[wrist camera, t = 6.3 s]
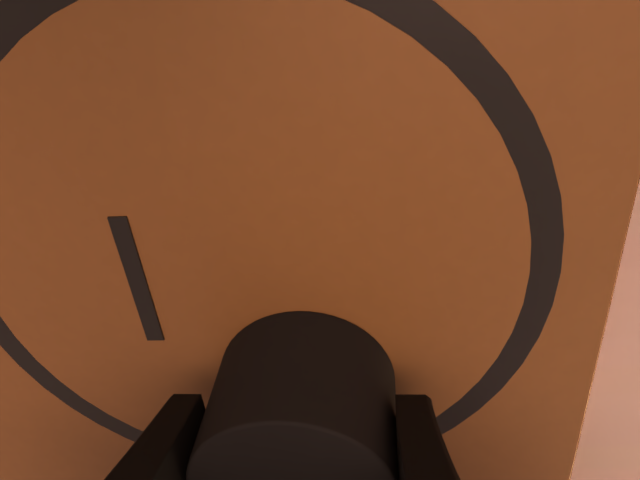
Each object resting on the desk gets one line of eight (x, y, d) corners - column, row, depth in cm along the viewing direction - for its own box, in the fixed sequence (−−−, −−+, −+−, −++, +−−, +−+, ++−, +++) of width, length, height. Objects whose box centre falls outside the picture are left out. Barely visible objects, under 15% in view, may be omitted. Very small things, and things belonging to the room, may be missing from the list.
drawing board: (556, 512, 16) (561, 531, 15) (-151, 492, 18) (-165, 508, 18) (719, -227, 7) (742, -235, 7) (-630, -67, 10) (-679, -65, 9)
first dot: (396, 436, 14) (401, 560, 11) (237, 434, 14) (207, 552, 12) (393, 308, 12) (398, 424, 9) (207, 311, 12) (162, 422, 10)
